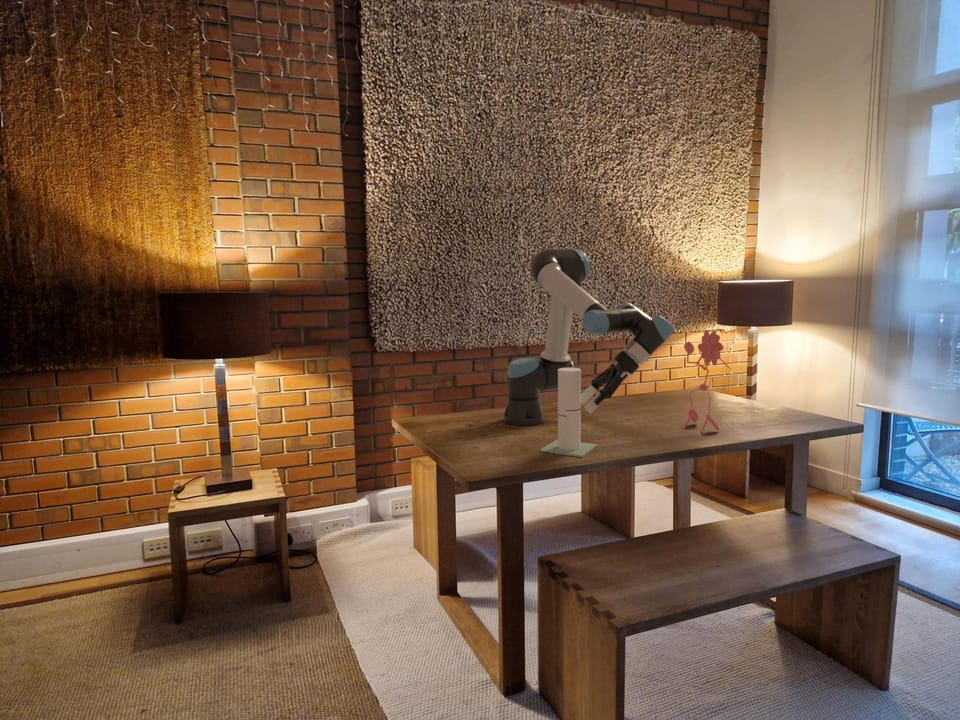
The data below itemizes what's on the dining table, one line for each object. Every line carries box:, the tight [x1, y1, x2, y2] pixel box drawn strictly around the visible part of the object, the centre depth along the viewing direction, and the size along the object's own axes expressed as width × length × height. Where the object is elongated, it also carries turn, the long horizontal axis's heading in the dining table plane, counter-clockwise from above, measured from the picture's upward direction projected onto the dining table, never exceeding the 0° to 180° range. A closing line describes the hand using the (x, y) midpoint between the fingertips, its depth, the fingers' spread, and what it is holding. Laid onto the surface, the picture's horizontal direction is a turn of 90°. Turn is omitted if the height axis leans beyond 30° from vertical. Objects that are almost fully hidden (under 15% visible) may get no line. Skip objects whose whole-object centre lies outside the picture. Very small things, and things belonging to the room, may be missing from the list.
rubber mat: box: [539, 438, 598, 458], centre depth 203 cm, size 14×14×1 cm
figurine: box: [683, 329, 732, 433], centre depth 226 cm, size 15×26×35 cm, turn 17°
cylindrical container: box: [557, 367, 582, 450], centre depth 201 cm, size 7×7×25 cm
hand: (583, 406), depth 201 cm, fingers open, 13 cm apart
